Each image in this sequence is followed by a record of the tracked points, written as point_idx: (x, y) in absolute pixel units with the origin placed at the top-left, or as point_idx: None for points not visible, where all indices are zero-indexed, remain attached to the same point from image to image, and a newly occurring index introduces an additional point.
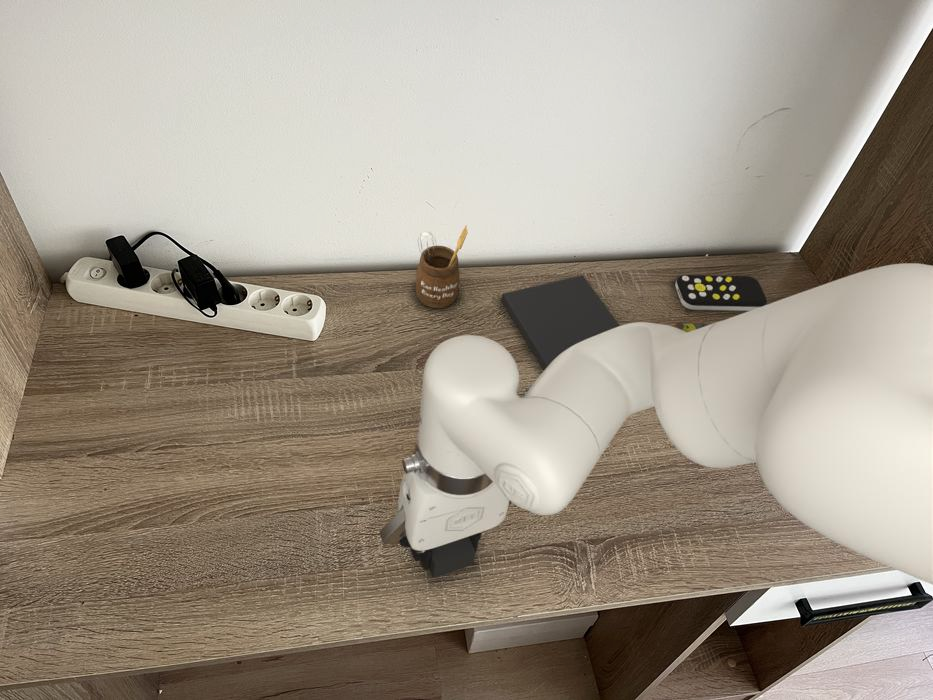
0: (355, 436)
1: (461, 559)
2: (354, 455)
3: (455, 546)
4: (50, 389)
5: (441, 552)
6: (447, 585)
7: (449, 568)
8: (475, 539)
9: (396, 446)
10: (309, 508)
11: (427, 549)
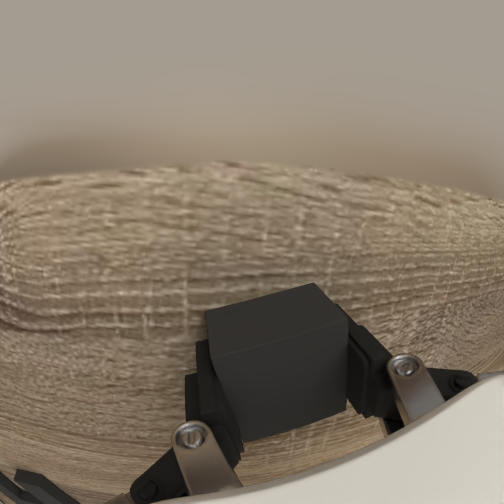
0: None
1: (255, 332)
2: None
3: (273, 372)
4: None
5: (318, 354)
6: (283, 261)
7: (281, 306)
8: (212, 397)
9: None
10: None
11: (481, 385)
